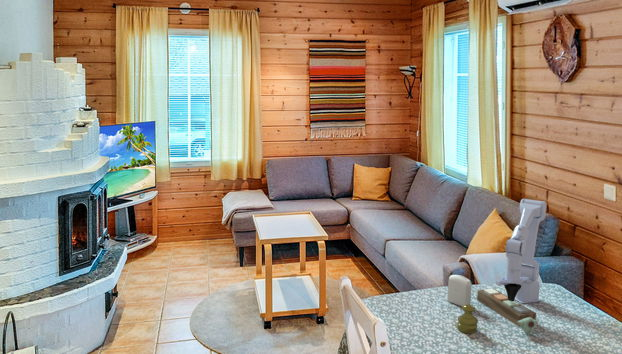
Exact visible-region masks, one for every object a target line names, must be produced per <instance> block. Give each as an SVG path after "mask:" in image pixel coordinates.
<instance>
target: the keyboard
mask: <svg viewBox="0 0 622 354" xmlns="http://www.w3.org/2000/svg"><path fill="white" fill-rule="evenodd" d="M493 289H494V290H496V291H498V292H499V294H503V295H504V296H506V297H508V296H507V294H506V295H505V294H504V293H502V292H501V291H499V290H497V289H495V288H493ZM484 290H486V289H479V290H477V295H476V296H477V298H476V300H477V301H478V302H479V303H481V304H483V305H484V306H486V307H487V308H489V309H491V310H492V311H494V312H495V313H497V314H499V315H500V316H501V317H503V318H505V319H506V320H508V321H509V322H511V323H512V324H514V325H515V326H517V327H521V326H520V325H519V323H518V322H517V321H519V320H522V319H525V318H528V317H530V318H532V319H534V320H537V313H536V312H535V311H533V310H532V309H529V308H528V307H526V306H525V305H522V303H520V302H518V301H517V300H514V301H515V302H516V303H518V304H519V306H523V307H525V308H527V309H528V310H530V312H529V313H522V314H520V313H518V312H516V311H515V310H513V307H508V306H506V305H505V304H503V301H498V300H496V299H495V298H493V295H488V294H486V293H485V292H484ZM499 294H498V295H499ZM506 301H507V300H506ZM516 307H518V306H516Z"/></svg>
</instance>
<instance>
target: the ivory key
mask: <svg viewBox="0 0 622 354" xmlns="http://www.w3.org/2000/svg"><path fill="white" fill-rule="evenodd" d="M494 289H495V288H487V289H486V290H485V289H483V290H484V292H485V293H486V294H488V295H498V294H499V292H500V291H499V290H497V289H495V290H494ZM496 290H497V291H496ZM498 291H499V292H498Z"/></svg>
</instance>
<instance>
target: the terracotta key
mask: <svg viewBox="0 0 622 354" xmlns="http://www.w3.org/2000/svg"><path fill="white" fill-rule="evenodd" d="M503 294H504V293H502V294H499V295H493V298H495V299H496V300H498V301H506V300H508V296H507V295H506V296H507V297H506V296H504V295H505V294H504V295H503Z"/></svg>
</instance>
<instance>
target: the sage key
mask: <svg viewBox="0 0 622 354" xmlns="http://www.w3.org/2000/svg"><path fill="white" fill-rule="evenodd" d="M515 301H516V300H514V301H513V302H511V301H509V300H507V301H503V304H505V305H506V306H508V307H516V306H519V304H520V303H519V302H518V303H519V304H518V303H516V302H517V301H516V302H515Z"/></svg>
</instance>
